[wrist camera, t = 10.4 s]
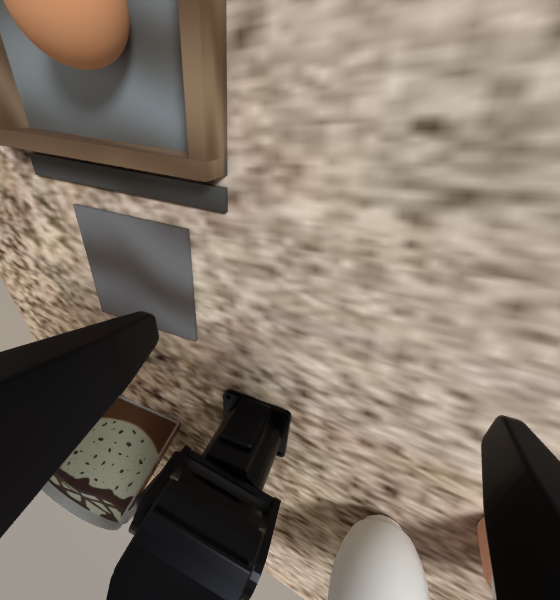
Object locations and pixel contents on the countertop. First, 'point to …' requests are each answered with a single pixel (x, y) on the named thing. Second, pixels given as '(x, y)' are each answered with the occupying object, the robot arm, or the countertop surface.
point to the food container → (113, 464)
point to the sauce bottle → (377, 564)
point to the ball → (74, 29)
